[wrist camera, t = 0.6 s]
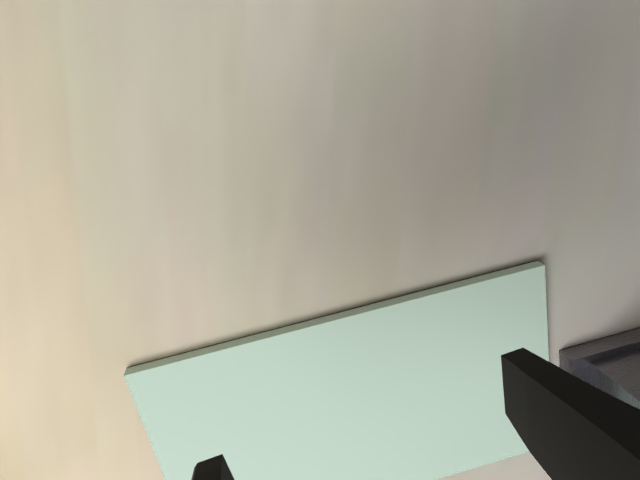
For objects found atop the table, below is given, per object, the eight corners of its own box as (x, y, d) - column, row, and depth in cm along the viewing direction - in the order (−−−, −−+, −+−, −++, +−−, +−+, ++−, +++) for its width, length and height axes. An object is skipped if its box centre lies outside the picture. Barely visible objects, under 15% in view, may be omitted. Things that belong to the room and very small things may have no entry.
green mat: (545, 437, 27) (552, 444, 27) (195, 541, 26) (194, 552, 25) (537, 260, 24) (544, 264, 23) (126, 368, 22) (123, 375, 21)
